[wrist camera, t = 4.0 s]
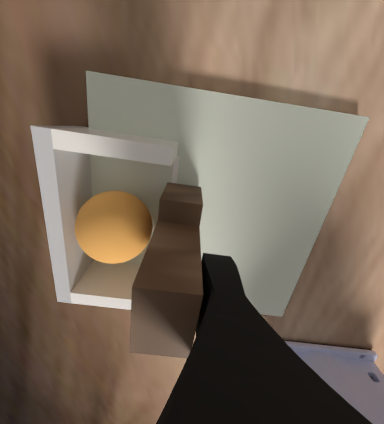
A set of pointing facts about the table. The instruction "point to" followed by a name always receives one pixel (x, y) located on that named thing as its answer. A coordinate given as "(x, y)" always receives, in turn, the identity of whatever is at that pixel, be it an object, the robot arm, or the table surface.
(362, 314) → the table surface
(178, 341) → the notched wooden post
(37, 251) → the table surface
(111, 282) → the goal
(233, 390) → the robot arm
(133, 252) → the ball
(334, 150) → the board
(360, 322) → the table surface
